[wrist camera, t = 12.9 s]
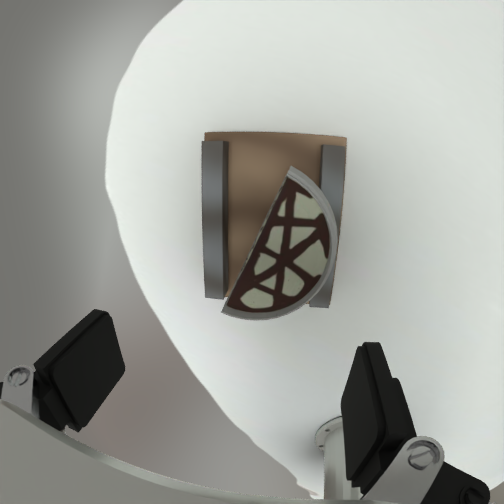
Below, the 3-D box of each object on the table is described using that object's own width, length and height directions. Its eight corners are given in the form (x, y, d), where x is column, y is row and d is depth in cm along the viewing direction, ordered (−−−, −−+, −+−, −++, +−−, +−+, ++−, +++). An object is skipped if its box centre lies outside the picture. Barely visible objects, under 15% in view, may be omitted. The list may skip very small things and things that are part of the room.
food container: (292, 292, 31) (289, 349, 22) (241, 268, 31) (218, 317, 22) (347, 191, 27) (374, 210, 17) (291, 162, 27) (290, 166, 17)
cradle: (328, 300, 32) (331, 316, 29) (210, 290, 34) (201, 305, 31) (344, 138, 26) (351, 136, 23) (208, 133, 28) (196, 130, 24)
